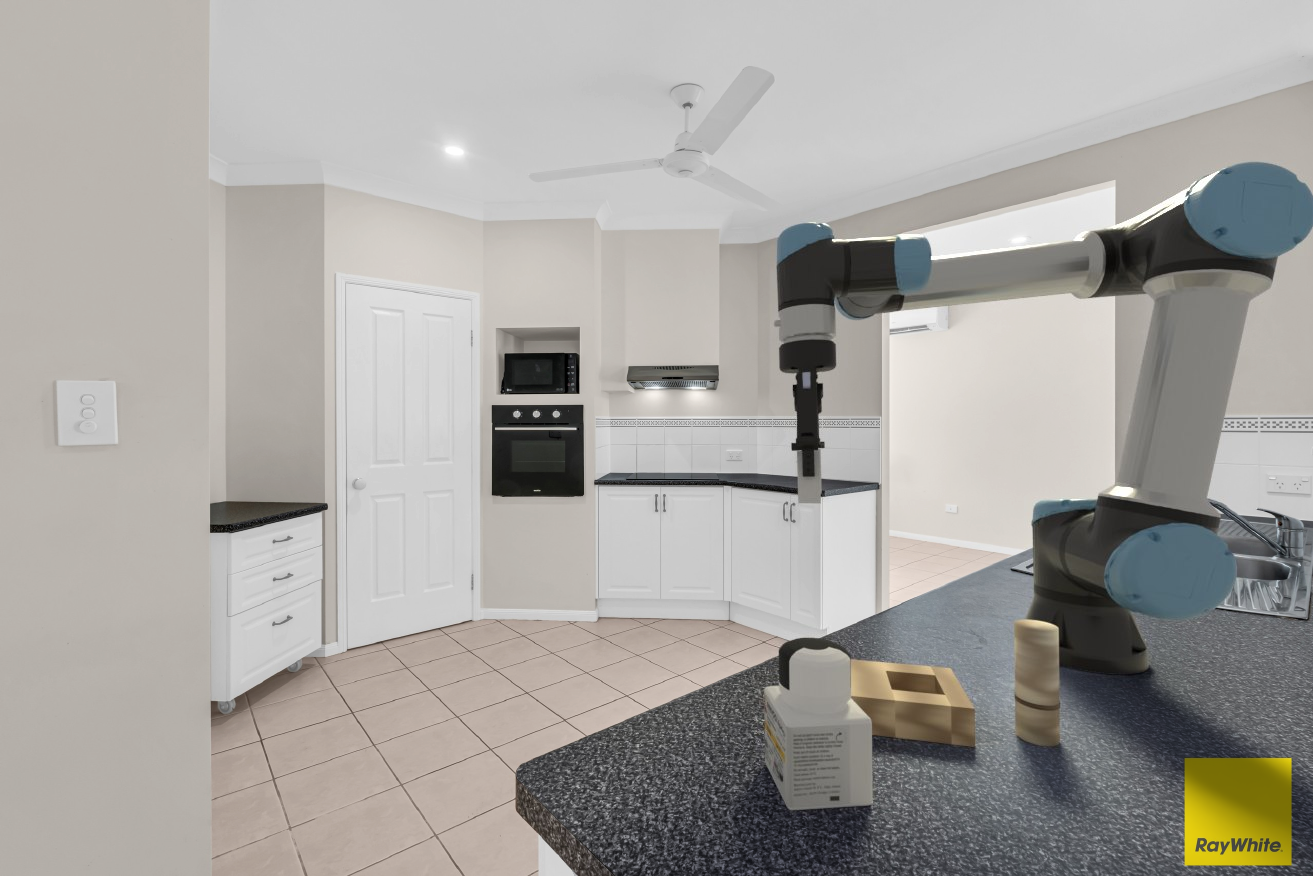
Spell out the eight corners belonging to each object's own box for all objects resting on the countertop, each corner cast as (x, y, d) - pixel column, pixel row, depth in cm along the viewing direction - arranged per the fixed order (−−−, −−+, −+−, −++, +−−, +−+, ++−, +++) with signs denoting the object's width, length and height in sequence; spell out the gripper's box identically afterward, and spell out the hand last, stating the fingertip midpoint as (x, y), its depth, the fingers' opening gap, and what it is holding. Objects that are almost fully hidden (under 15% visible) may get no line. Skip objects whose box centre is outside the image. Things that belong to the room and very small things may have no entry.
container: (763, 762, 57) (762, 632, 57) (838, 758, 58) (837, 629, 58) (788, 812, 49) (786, 662, 50) (874, 807, 50) (872, 658, 50)
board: (950, 700, 70) (950, 668, 70) (975, 747, 60) (974, 708, 60) (784, 683, 76) (784, 653, 76) (779, 723, 65) (779, 688, 65)
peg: (1051, 729, 63) (1050, 620, 63) (1067, 749, 59) (1065, 633, 59) (1009, 725, 64) (1008, 618, 64) (1022, 744, 60) (1021, 629, 60)
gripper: (785, 356, 91) (788, 489, 91) (770, 327, 67) (775, 508, 67) (834, 353, 89) (838, 489, 89) (837, 322, 65) (842, 508, 65)
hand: (810, 498), depth 78 cm, fingers open, 13 cm apart
